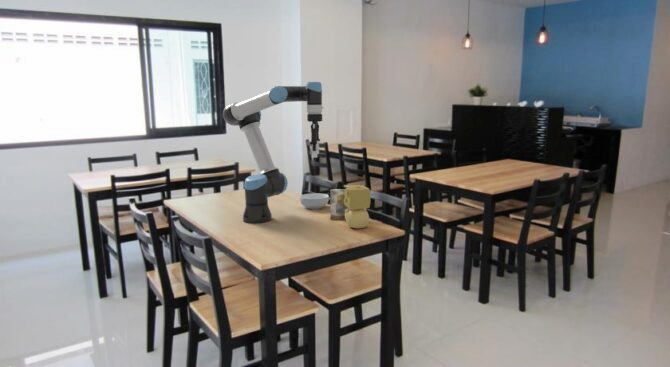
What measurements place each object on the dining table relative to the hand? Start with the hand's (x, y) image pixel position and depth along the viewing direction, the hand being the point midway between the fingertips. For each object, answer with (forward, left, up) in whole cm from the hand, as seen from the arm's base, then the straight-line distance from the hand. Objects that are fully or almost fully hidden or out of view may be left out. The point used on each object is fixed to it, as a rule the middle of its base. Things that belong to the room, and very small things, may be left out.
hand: (315, 155), depth 236 cm
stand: (+14, +6, -35) cm, 38 cm away
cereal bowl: (-3, +30, -35) cm, 46 cm away
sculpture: (+21, -10, -35) cm, 42 cm away
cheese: (+21, -10, -24) cm, 34 cm away
